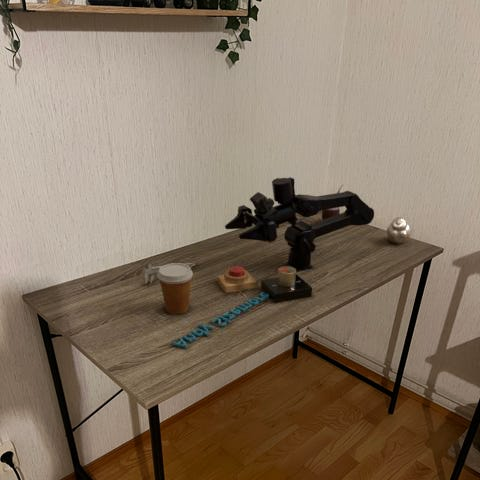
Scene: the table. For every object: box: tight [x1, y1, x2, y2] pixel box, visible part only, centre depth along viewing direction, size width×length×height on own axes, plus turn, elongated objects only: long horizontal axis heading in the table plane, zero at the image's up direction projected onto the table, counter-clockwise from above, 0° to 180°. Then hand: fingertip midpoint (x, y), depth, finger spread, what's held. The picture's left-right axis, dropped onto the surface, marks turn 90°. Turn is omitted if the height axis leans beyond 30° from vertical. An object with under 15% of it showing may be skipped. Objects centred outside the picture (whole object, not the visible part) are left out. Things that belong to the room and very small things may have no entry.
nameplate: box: [170, 291, 269, 349], centre depth 133 cm, size 37×1×5 cm
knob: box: [277, 265, 297, 288], centre depth 145 cm, size 5×5×5 cm
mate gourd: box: [321, 183, 344, 220], centre depth 198 cm, size 8×8×15 cm
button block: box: [216, 269, 257, 294], centre depth 151 cm, size 10×8×4 cm
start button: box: [228, 265, 245, 277], centre depth 149 cm, size 4×4×2 cm
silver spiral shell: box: [386, 216, 413, 244], centre depth 181 cm, size 9×10×10 cm
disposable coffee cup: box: [156, 262, 194, 315], centre depth 135 cm, size 10×10×12 cm
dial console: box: [260, 273, 313, 304], centre depth 147 cm, size 12×10×3 cm
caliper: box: [142, 262, 197, 285], centre depth 156 cm, size 20×1×6 cm, turn 136°
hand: (232, 232), depth 146 cm, fingers open, 9 cm apart
